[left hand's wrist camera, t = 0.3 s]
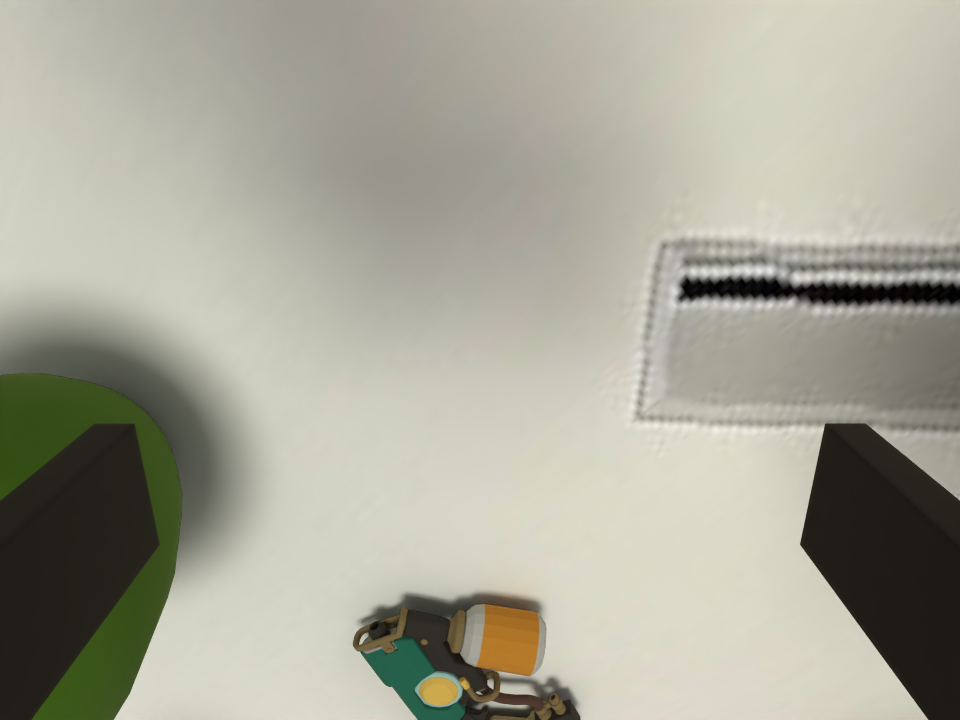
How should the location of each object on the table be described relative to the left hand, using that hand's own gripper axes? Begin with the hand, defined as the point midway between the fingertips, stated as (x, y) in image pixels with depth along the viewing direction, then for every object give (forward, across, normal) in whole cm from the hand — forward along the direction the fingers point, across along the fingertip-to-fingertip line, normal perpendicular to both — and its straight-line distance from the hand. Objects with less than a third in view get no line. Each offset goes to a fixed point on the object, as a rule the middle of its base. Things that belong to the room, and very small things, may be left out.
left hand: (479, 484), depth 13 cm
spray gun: (+28, 0, -34) cm, 44 cm away
